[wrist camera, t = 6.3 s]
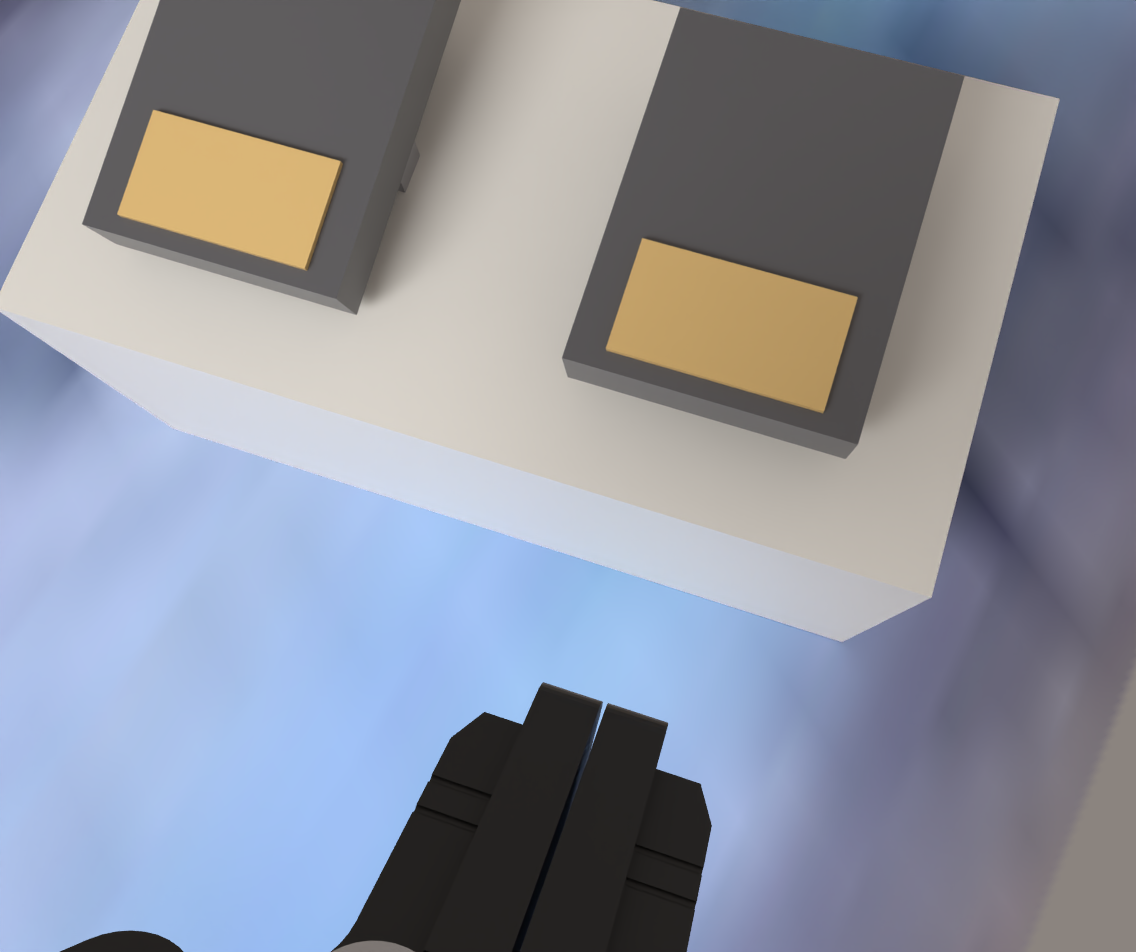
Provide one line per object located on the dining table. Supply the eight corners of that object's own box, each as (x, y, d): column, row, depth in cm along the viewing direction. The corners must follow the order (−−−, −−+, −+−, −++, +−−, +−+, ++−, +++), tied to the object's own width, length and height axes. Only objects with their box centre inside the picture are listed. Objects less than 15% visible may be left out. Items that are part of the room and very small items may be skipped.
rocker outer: (568, 377, 23) (561, 355, 21) (679, 45, 24) (680, 2, 22) (845, 459, 22) (859, 442, 20) (946, 111, 23) (966, 71, 22)
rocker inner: (116, 244, 25) (77, 222, 23) (227, -78, 25) (197, -121, 24) (356, 315, 24) (333, 297, 22) (467, -19, 24) (452, -60, 23)
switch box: (173, 428, 35) (-26, 294, 24) (309, 111, 37) (182, -133, 27) (842, 641, 32) (940, 592, 21) (940, 281, 34) (1071, 80, 24)
